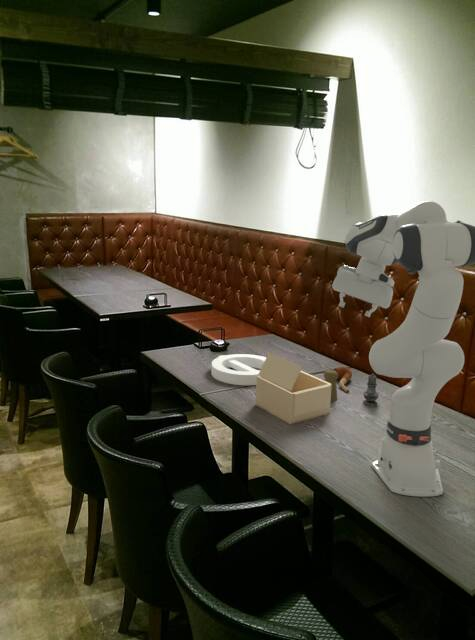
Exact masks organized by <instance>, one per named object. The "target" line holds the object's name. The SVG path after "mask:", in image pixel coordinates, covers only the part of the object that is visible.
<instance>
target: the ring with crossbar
mask: <svg viewBox="0 0 475 640" xmlns="http://www.w3.org/2000/svg"><path fill="white" fill-rule="evenodd" d="M266 357H267V356H263V355H257V354H248V353H246V354H245V353H236V354H235V353H234V354H226V355H225V354H223V355H218V356H217V357H216V358H215V359H212V362H211V376H212V377H213V378H214V379H215V380H217V381H219V382H222V383H225V384H230V385H235V386H237V385H238V386H256V382H257V376H259V375H258V374H259V372H260V370H261V368H262V366H263V364H264V362H265V359H266ZM231 368H232V369H231Z"/></svg>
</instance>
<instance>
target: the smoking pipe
mask: <svg viewBox="0 0 475 640" xmlns="http://www.w3.org/2000/svg"><path fill="white" fill-rule="evenodd" d="M333 370H334V371H336V372H337V373H338V378H337V379H336V380H338V381H339V383H338V385H339V387H340V388H341V390H343V392H345V393H348V392H349V393H350V389H348V388H347V386H346V384H347V383H348V382H349V381H350V380H351V379H352V377H353V372H352V370H351V369H350V368H349V367H347V366H337V367H335V368H333Z"/></svg>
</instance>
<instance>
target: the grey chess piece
mask: <svg viewBox="0 0 475 640" xmlns="http://www.w3.org/2000/svg"><path fill="white" fill-rule="evenodd" d="M374 373H375V372H372V373H371V374H369V376H368V379H367V380H368V381H367V383H366V385H367V389H366V391H363V392H362V394H363V398H364V400H363V401H362V403H363V404H365V405H367V406H377V405H378V402H377V400H378V398H379V396H380V394H379V392H377V390H376V389H377V385H378V384H377V375H375V374H374Z"/></svg>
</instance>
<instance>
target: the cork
mask: <svg viewBox="0 0 475 640" xmlns="http://www.w3.org/2000/svg"><path fill="white" fill-rule="evenodd" d="M323 377H324V381H326V382H328V383H331V384H332V387H331V401H330V402H336V401H337V400H338V391H337V390H338V389H337V388H338V387H337V380H338V379H337V378H338V373H337V372H336V371H334V369H333V370H332V369H327V370H325V371H324V373H323Z"/></svg>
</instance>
